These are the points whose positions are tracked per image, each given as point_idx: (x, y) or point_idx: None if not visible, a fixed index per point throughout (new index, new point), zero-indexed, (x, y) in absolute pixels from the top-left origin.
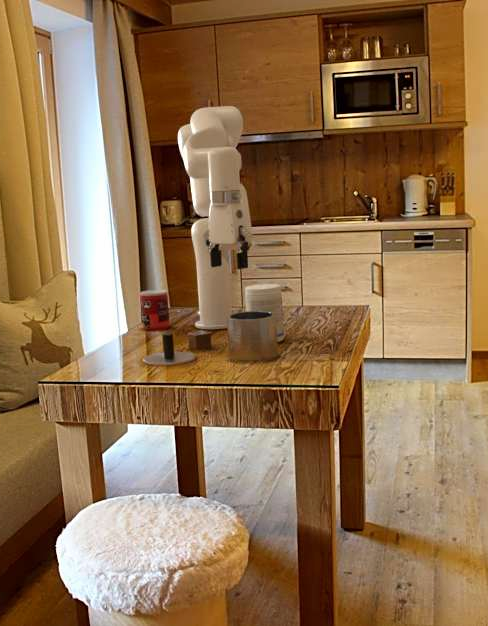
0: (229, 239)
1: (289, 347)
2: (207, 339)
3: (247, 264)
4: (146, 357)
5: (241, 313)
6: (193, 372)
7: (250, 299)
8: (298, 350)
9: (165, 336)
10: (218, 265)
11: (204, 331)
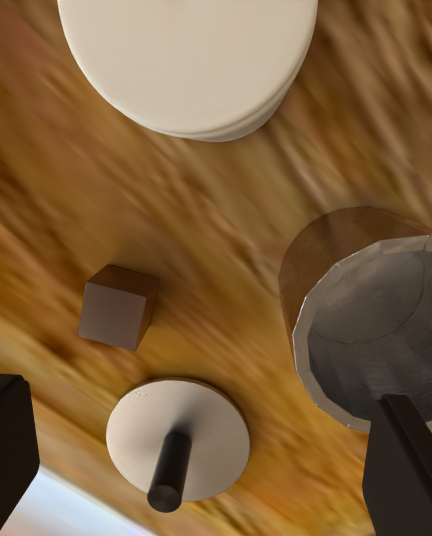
0: None
1: (366, 99)
2: (149, 302)
3: (416, 417)
4: (127, 473)
5: (313, 317)
6: (318, 470)
7: (197, 138)
8: (426, 117)
9: (173, 508)
10: (31, 417)
11: (105, 289)
